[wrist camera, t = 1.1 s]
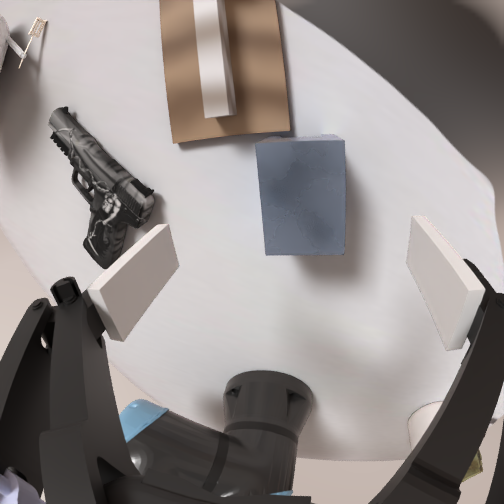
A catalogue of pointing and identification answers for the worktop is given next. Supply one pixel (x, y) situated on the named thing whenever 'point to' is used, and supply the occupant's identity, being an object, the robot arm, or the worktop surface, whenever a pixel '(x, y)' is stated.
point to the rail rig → (223, 68)
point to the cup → (421, 422)
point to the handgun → (101, 189)
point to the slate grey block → (302, 194)
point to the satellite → (2, 40)
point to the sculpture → (474, 467)
